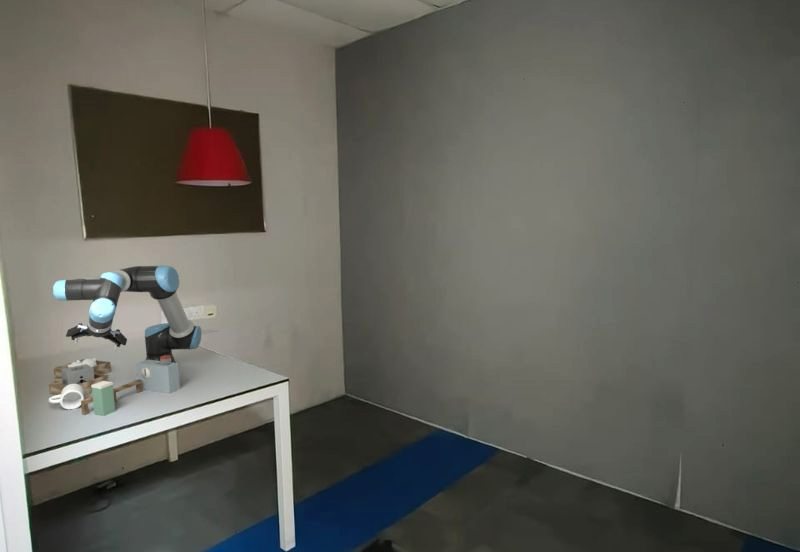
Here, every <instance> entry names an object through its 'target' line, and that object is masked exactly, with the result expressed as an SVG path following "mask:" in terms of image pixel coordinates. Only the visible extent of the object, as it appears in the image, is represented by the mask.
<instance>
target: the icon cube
mask: <svg viewBox="0 0 800 552" xmlns="http://www.w3.org/2000/svg"><path fill="white" fill-rule="evenodd" d="M61 374H62V384H66V385H69V384H78V385H79V384H82V383H85V382H88V381H91V380H94V369H93V368H92V367H90V366H89V365H87V364H85V365H80V366H75V367H70V368H65V369H61Z"/></svg>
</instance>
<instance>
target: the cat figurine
mask: <svg viewBox="0 0 800 552" xmlns="http://www.w3.org/2000/svg"><path fill="white" fill-rule="evenodd" d="M84 359H85V360H83V361H82V363H81V362H80V361H79V359H77V360H76V361H77V362H76V361H73V363H72V362H70V363H71V364H70V365H68V368H70V367H75V366H80V365H85V364H87V365H89V366H90V367H94V366H97V363H96V360H97V358H96V357H94V358H84Z"/></svg>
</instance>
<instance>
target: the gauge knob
mask: <svg viewBox="0 0 800 552" xmlns="http://www.w3.org/2000/svg"><path fill="white" fill-rule="evenodd" d="M160 361H161V364H162V365H167V364H170V363H171V356H170V355H164V356H161V357H160Z"/></svg>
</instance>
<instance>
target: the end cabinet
mask: <svg viewBox="0 0 800 552" xmlns="http://www.w3.org/2000/svg"><path fill="white" fill-rule="evenodd" d="M179 367H180V366H179V362H176V363H173V362H171V363H170V364H167V365H162V364H161V361H156V360H146V359H145V360H142V361H140V362H136V371H137V374H136V375H137V380H138V379H140V380H141V383H142V389H145V390H144V391H149V390H151V392H156V391H157V392H159V393H163V392H164V393H165V394H171V392H172V393H173V392H176V391H178V389H179V390H180V389H181V385H180V368H179ZM164 393H163V394H164Z"/></svg>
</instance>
